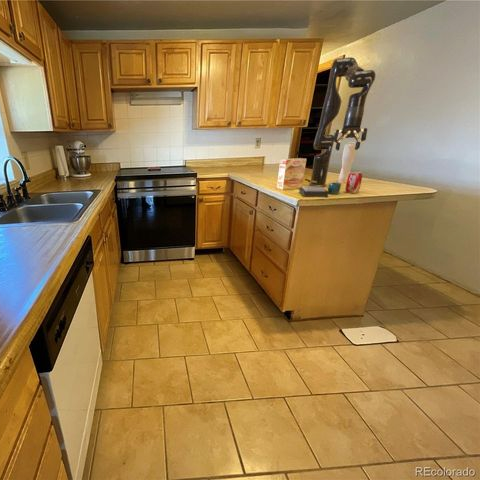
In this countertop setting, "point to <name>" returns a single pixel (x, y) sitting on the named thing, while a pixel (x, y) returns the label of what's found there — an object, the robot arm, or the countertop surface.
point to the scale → (313, 193)
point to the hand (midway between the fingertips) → (346, 150)
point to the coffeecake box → (291, 173)
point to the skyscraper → (347, 162)
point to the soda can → (353, 182)
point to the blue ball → (334, 188)
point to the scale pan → (313, 188)
